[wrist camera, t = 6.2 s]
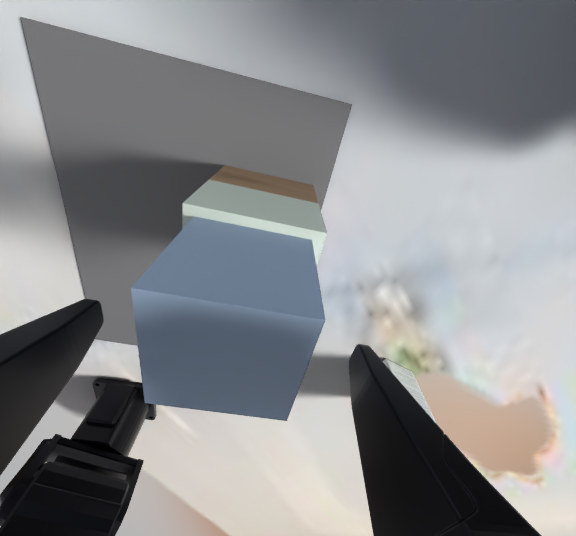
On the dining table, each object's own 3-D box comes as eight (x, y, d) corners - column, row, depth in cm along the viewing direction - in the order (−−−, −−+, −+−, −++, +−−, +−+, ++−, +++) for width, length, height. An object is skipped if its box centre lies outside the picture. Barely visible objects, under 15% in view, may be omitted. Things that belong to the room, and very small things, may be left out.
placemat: (275, 363, 28) (275, 366, 28) (97, 336, 26) (95, 339, 26) (350, 104, 16) (352, 104, 16) (27, 19, 14) (20, 17, 14)
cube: (287, 324, 14) (286, 420, 10) (191, 308, 13) (145, 402, 9) (311, 239, 11) (325, 320, 7) (194, 216, 11) (130, 287, 7)
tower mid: (294, 289, 18) (294, 333, 14) (203, 272, 17) (181, 314, 14) (318, 203, 15) (327, 233, 11) (209, 179, 14) (182, 203, 11)
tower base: (293, 259, 21) (294, 289, 18) (217, 245, 20) (203, 272, 17) (313, 185, 18) (318, 203, 15) (225, 165, 17) (209, 179, 14)
